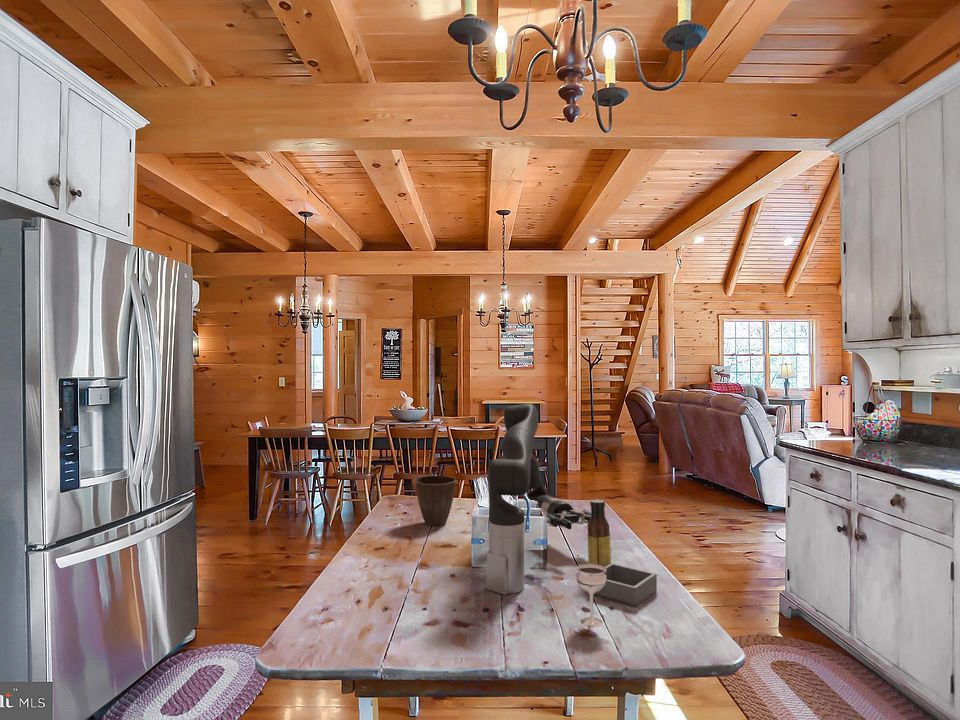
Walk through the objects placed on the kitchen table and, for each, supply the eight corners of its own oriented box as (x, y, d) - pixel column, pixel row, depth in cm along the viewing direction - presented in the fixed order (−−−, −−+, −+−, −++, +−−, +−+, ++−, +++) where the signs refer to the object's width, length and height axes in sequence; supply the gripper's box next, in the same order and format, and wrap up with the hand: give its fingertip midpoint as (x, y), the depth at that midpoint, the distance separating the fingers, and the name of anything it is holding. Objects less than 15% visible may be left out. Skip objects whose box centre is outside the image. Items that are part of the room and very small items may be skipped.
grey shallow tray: (635, 607, 142) (635, 588, 142) (588, 594, 150) (588, 576, 150) (656, 591, 152) (656, 573, 152) (611, 580, 160) (611, 563, 160)
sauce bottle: (612, 569, 168) (612, 499, 168) (609, 576, 162) (609, 504, 162) (589, 566, 170) (589, 497, 170) (585, 573, 164) (585, 502, 164)
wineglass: (600, 631, 130) (600, 576, 130) (571, 623, 133) (571, 570, 133) (611, 619, 135) (611, 567, 135) (583, 612, 139) (583, 561, 139)
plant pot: (454, 529, 207) (455, 484, 207) (412, 529, 207) (412, 483, 207) (457, 518, 222) (457, 475, 222) (417, 518, 222) (417, 475, 222)
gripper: (537, 501, 187) (561, 513, 172) (576, 498, 192) (604, 509, 177) (537, 525, 187) (561, 539, 172) (576, 521, 192) (604, 534, 177)
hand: (583, 524), depth 174 cm, fingers open, 8 cm apart
